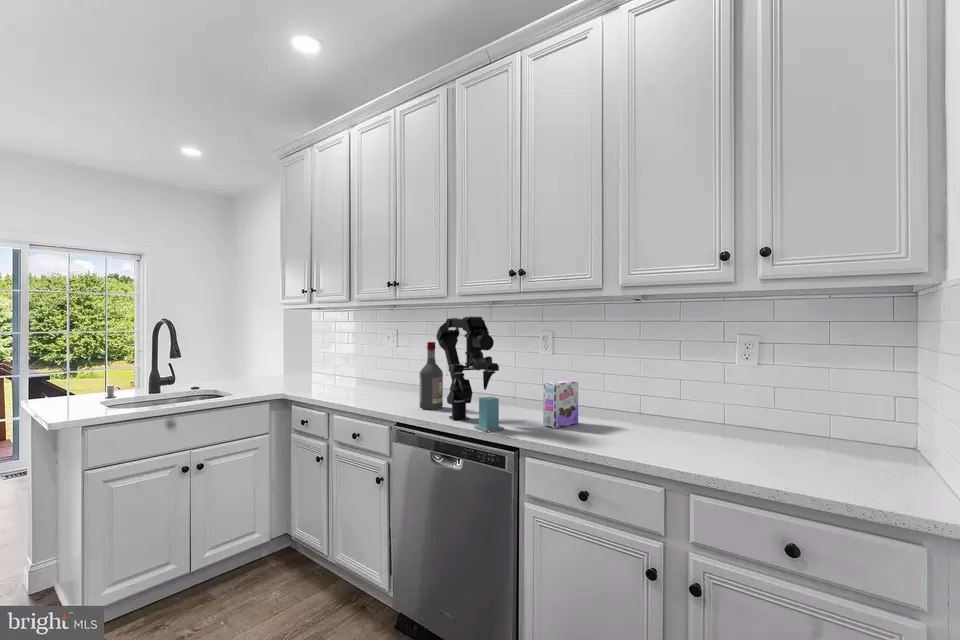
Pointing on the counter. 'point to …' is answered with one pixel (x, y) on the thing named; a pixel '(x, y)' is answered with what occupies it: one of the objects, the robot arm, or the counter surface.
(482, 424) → the teal rectangular block
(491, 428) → the post stand
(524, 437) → the counter surface
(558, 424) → the candy box
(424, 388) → the liquor
